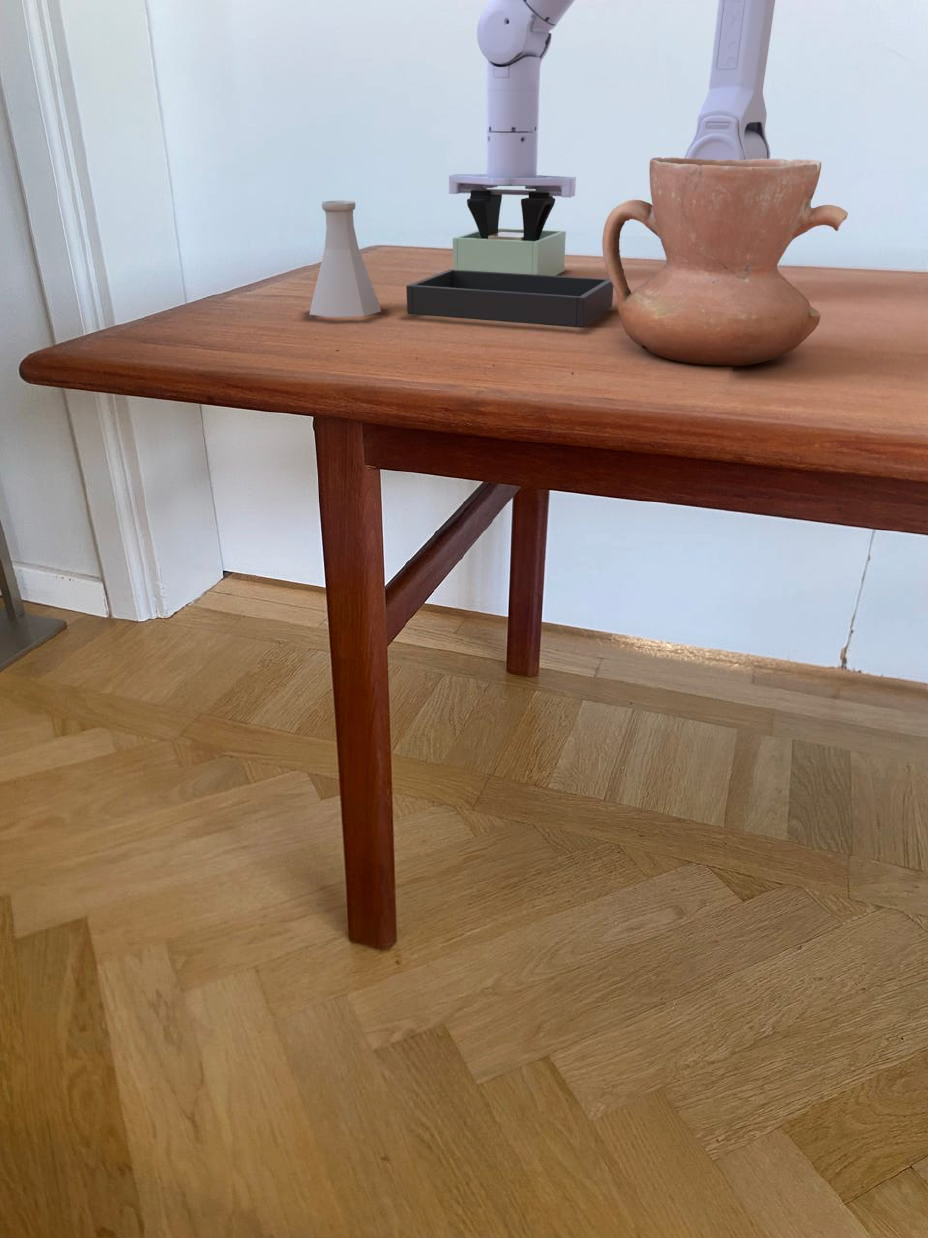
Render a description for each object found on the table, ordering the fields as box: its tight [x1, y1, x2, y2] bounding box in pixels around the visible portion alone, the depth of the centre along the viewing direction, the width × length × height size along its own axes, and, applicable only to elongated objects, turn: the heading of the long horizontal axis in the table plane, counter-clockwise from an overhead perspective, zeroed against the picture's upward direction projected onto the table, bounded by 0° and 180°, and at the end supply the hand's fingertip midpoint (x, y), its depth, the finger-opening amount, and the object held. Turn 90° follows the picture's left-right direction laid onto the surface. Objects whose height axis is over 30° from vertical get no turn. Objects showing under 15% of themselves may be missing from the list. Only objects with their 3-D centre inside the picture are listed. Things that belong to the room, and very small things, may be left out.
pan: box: [405, 268, 614, 329], centre depth 88 cm, size 17×10×3 cm, turn 67°
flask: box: [309, 200, 382, 318], centre depth 87 cm, size 7×7×10 cm
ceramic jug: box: [601, 156, 849, 367], centre depth 71 cm, size 18×14×14 cm
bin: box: [452, 227, 567, 276], centre depth 108 cm, size 10×10×4 cm
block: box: [488, 232, 524, 241], centre depth 108 cm, size 4×4×4 cm
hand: (509, 262), depth 108 cm, fingers closed on block, 4 cm apart
